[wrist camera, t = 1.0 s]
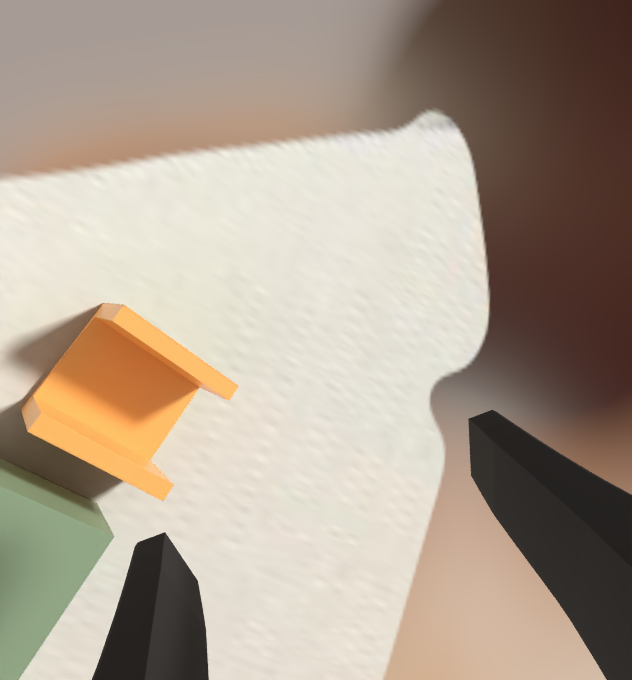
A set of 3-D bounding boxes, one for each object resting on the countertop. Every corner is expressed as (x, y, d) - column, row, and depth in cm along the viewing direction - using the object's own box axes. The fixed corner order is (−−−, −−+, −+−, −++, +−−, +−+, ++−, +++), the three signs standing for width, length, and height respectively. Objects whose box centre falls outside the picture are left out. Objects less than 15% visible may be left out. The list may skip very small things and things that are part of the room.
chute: (137, 470, 23) (163, 501, 19) (20, 408, 20) (27, 431, 17) (203, 373, 24) (238, 386, 21) (102, 302, 21) (124, 304, 18)
